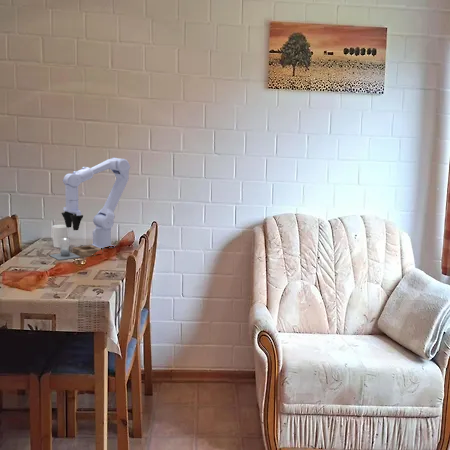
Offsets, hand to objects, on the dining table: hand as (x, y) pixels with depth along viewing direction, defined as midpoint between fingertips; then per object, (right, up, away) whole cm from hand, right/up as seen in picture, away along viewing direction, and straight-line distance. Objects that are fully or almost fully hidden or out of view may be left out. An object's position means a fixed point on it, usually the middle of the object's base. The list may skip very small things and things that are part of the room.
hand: (72, 228), depth 250 cm
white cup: (-8, -9, +9) cm, 15 cm away
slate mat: (-1, -12, -10) cm, 16 cm away
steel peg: (0, -12, -10) cm, 16 cm away
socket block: (+8, -11, -3) cm, 14 cm away
